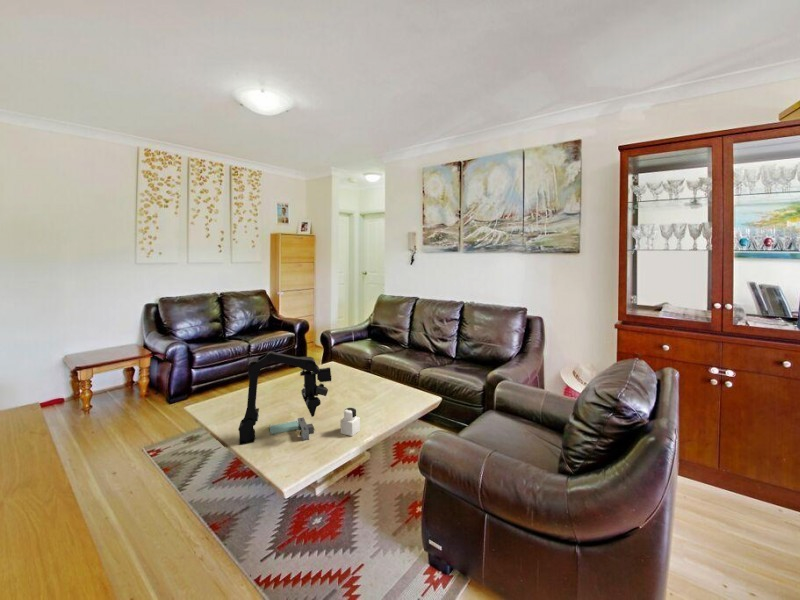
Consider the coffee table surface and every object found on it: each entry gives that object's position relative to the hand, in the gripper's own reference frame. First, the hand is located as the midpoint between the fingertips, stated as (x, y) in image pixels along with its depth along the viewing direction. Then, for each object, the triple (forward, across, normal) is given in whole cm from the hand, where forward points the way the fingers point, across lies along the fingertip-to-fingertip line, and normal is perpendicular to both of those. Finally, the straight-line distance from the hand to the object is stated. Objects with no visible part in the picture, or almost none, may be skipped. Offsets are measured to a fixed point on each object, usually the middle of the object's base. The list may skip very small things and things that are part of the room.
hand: (311, 412), depth 183 cm
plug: (+10, 0, +3) cm, 11 cm away
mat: (+10, +10, +12) cm, 19 cm away
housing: (+10, 0, +4) cm, 11 cm away
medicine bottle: (+10, -8, -18) cm, 22 cm away
